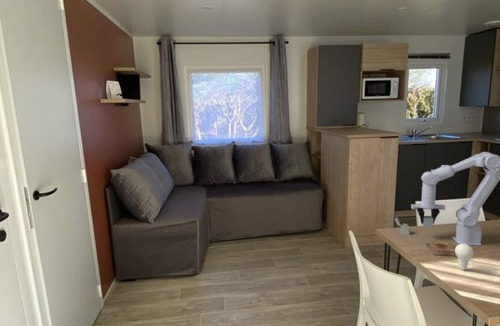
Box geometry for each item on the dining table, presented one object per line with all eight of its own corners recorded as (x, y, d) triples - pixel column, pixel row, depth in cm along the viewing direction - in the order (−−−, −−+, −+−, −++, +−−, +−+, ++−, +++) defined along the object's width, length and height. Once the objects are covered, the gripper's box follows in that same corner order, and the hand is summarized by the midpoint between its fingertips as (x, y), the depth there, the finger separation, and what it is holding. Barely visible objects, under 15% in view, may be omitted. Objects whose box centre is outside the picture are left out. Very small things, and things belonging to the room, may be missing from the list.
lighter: (409, 233, 159) (410, 219, 158) (409, 234, 158) (409, 220, 157) (394, 231, 164) (395, 217, 162) (394, 232, 162) (394, 218, 161)
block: (430, 224, 153) (430, 215, 152) (432, 227, 149) (433, 218, 148) (421, 224, 154) (421, 215, 153) (423, 227, 150) (424, 218, 149)
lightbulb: (466, 275, 119) (468, 249, 117) (450, 268, 124) (452, 243, 123) (475, 271, 122) (477, 245, 120) (459, 264, 127) (460, 239, 125)
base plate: (451, 245, 144) (452, 241, 143) (462, 257, 133) (462, 252, 133) (426, 244, 146) (426, 240, 146) (434, 255, 136) (434, 251, 135)
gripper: (442, 194, 151) (440, 220, 153) (409, 194, 154) (408, 219, 156) (447, 198, 144) (446, 225, 146) (414, 198, 147) (412, 224, 150)
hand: (427, 223), depth 151 cm, fingers closed on block, 4 cm apart
